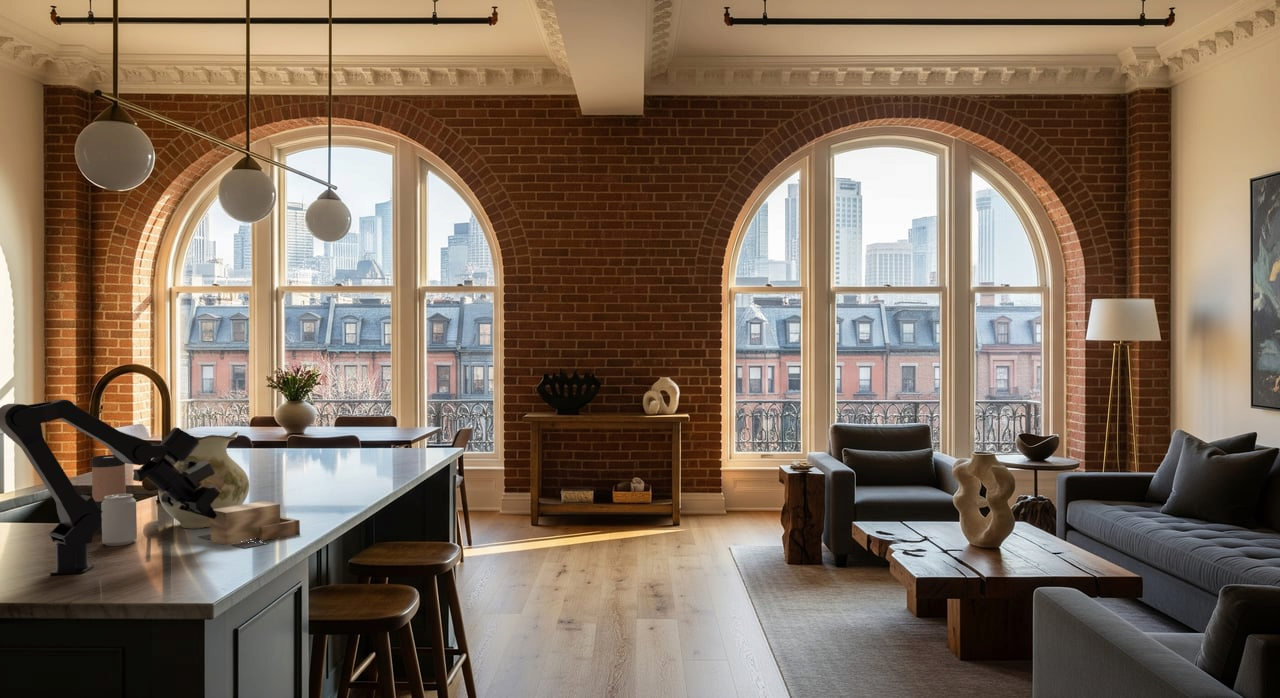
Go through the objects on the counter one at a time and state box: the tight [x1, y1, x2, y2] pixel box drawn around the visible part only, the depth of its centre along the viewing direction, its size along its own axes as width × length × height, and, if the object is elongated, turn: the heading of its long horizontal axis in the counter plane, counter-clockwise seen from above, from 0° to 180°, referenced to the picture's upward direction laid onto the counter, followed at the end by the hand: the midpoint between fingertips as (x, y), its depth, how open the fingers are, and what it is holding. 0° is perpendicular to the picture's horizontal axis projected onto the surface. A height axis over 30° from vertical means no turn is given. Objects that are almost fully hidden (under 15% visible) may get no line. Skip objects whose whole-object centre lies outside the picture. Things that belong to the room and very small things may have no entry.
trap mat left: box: [197, 533, 211, 541], centre depth 224 cm, size 6×6×1 cm
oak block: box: [210, 500, 281, 546], centre depth 222 cm, size 14×8×8 cm, turn 142°
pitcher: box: [158, 431, 250, 529], centre depth 241 cm, size 22×24×25 cm
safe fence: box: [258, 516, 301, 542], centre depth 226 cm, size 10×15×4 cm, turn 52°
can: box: [101, 493, 138, 547], centre depth 218 cm, size 8×8×12 cm
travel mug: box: [91, 454, 127, 535], centre depth 233 cm, size 8×8×20 cm
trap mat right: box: [231, 539, 267, 549], centre depth 214 cm, size 6×6×1 cm
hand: (214, 517), depth 216 cm, fingers closed
